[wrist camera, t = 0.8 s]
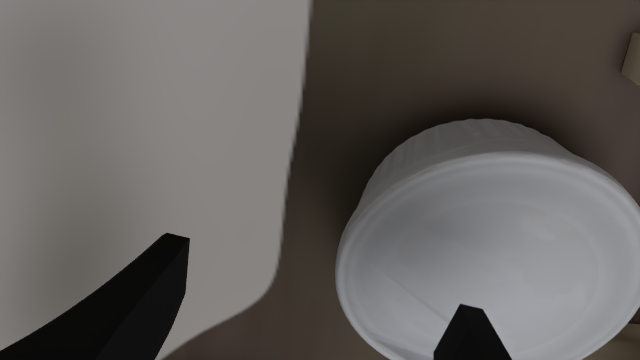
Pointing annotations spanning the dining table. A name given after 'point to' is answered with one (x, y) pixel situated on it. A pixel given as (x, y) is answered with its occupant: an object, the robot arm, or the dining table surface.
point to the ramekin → (490, 245)
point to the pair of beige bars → (634, 339)
